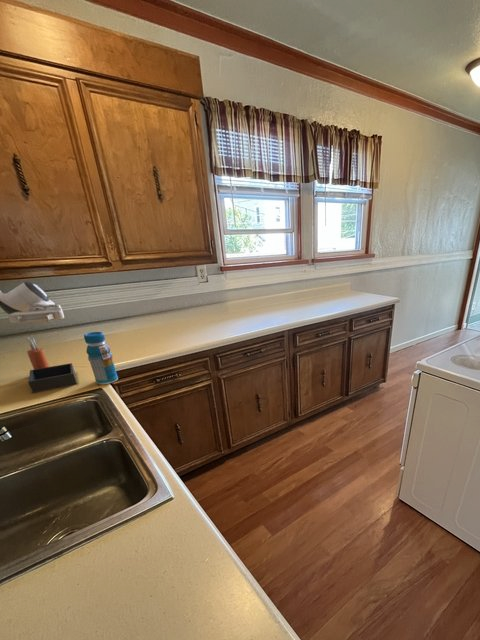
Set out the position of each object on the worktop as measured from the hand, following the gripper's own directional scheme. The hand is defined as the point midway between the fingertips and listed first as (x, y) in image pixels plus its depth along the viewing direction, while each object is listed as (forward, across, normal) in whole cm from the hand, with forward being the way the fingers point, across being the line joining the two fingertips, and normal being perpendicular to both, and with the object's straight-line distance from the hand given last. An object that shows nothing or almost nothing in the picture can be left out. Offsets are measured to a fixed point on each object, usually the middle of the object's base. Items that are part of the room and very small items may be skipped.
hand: (33, 319), depth 142 cm
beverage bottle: (+32, +26, +22) cm, 46 cm away
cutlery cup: (+12, 0, +21) cm, 25 cm away
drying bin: (+24, +6, +21) cm, 33 cm away
